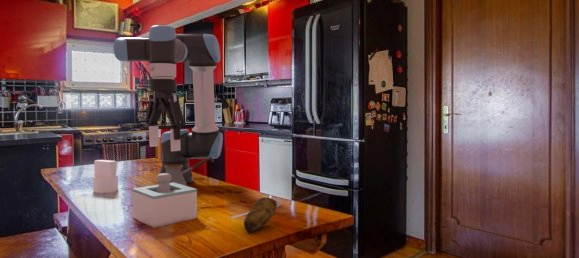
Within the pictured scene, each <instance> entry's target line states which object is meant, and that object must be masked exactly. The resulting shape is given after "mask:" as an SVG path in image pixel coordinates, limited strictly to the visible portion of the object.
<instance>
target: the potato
mask: <svg viewBox="0 0 579 258" xmlns="http://www.w3.org/2000/svg"><path fill="white" fill-rule="evenodd" d="M277 205H278V204H277V203H276V200H274V198H271V197H261V198H259V199H258V200H257V201H256V202H255V203H254V204H253V206H252V207H251V209H250V210H249V211H248V212H249V213H248V214H247V215H245V216H244V217H245V218H244V220H243V226H244V229H245V230H246V231H247V232H249V233H253V232H256V231H258V230H259V229H261V228H262V227H264V226H265V225H266V224H267V223H268V222H269V221H270V220H271V218H272V217H273V216H275V213H276V212H277V209H278V207H277Z"/></svg>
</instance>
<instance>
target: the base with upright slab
mask: <svg viewBox="0 0 579 258" xmlns="http://www.w3.org/2000/svg"><path fill="white" fill-rule="evenodd" d="M93 162H94V166H93V167H94V175H92V187H93V188H92V189H93V193H95V194H108V193H109V194H110V193H114V192H117V191H118V190H119V174H117V161H116V160H110V159H108V160H107V159H96V160H94V161H93Z"/></svg>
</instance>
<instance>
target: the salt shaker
mask: <svg viewBox="0 0 579 258" xmlns="http://www.w3.org/2000/svg"><path fill="white" fill-rule="evenodd" d="M169 181H171V175H170V174H168V173H162V174H159V173H158V174H157V175H156V182H157V183H158V182H159V183H158V184H157V185H158V191H157V193H162V192H168V191H171V188H170V183H169Z"/></svg>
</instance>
